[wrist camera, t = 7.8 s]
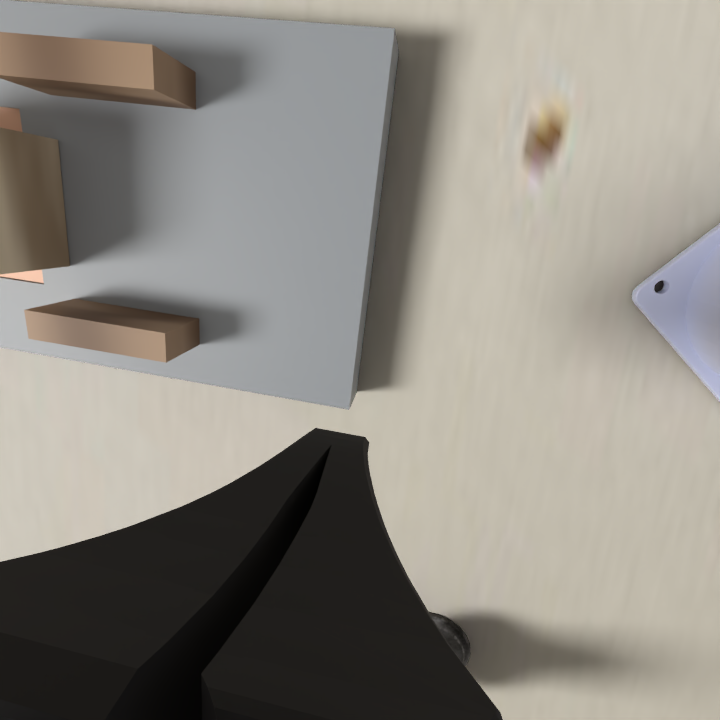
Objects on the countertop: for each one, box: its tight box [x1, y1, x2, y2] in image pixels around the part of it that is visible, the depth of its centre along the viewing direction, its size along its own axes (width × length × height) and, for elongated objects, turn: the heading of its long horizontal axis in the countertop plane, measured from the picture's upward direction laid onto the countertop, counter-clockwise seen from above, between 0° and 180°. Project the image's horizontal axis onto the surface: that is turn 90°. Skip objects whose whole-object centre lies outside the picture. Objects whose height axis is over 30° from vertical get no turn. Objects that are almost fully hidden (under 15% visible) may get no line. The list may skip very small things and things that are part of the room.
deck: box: [0, 0, 399, 410], centre depth 18 cm, size 27×14×2 cm, turn 83°
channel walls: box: [0, 32, 200, 363], centre depth 16 cm, size 6×10×2 cm, turn 173°
